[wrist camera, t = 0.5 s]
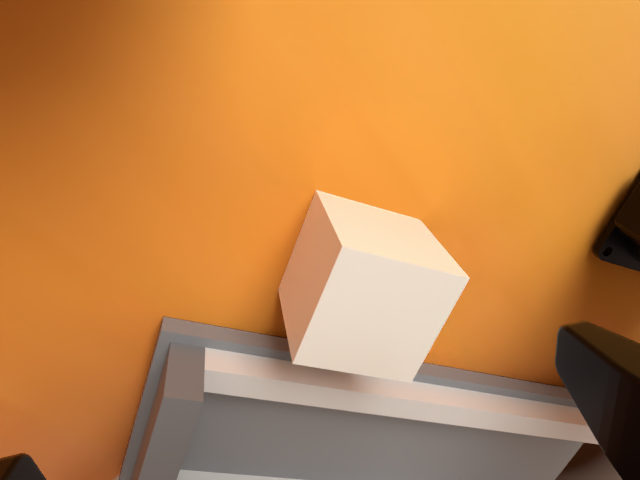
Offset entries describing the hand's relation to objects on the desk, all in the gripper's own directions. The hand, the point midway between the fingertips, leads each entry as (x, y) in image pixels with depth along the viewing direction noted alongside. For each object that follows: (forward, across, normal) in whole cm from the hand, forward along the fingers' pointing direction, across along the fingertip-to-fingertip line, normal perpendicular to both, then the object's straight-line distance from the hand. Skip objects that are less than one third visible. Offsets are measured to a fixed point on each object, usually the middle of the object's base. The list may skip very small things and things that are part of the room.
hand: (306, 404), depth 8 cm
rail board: (+13, -3, +17) cm, 21 cm away
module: (+13, -3, +5) cm, 14 cm away
